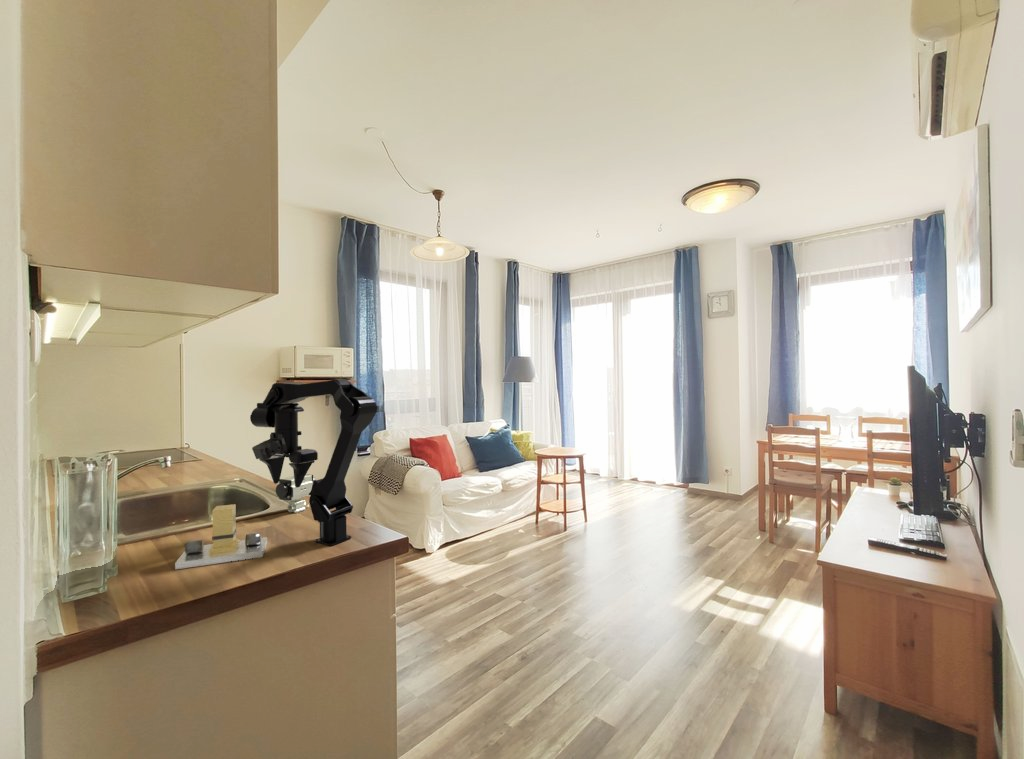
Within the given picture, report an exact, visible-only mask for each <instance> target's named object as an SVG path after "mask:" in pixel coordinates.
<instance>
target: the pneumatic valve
mask: <svg viewBox="0 0 1024 759" xmlns="http://www.w3.org/2000/svg"><path fill="white" fill-rule="evenodd" d="M316 480H317V479H316V478H315V477H314V474H309V473H306V475H305V477H304V479H303V481H302V483H301V485H300V487H295V481H294V475H293V476H287V477H284V478H280V480H279V483H277V485H276V487H275V493H276V494H275V495H276V497H278V499H279V500H283V501H288V503H287V504H288V505H287V506H286V507H287V511H288V512H289V513H295V514H297V513H301V512H304V511H305V510H306V505H307V502H306V499H304V497H307V496H310V495H309V493H310V492H311V489H312V485H313V483H314V481H316ZM303 510H304V511H303Z"/></svg>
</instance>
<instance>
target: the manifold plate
mask: <svg viewBox="0 0 1024 759" xmlns="http://www.w3.org/2000/svg"><path fill="white" fill-rule="evenodd" d="M204 542H205V541H204V539H199V540H198V539H197V540H191V541H189V540H188V541H186V543H185V545H184V546H185V547H184V551H183V553H182V554H181V555H180V556H179V557H178V559H177V560H176V561H175V564H174V568H175V570H182V569H188V568H195V567H203V566H210V565H215V564H216V565H217V564H223V563H231V561H232V562H237V561H238V560H239V561H245V559H246V560H252V558H253V559H259V558H263V557H264V554H265V550H266V548H267V545H268V536H263V537H262V533H261V532H255V533H253V532H252V533H247V534H245V539H242V540H241V539H239V545H238V547H237V549H236V551H233V552H225V553H218V554H211V555H209V549H210V548H211V546H212V545H213V543H210V544H204Z"/></svg>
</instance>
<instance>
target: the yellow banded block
mask: <svg viewBox="0 0 1024 759" xmlns="http://www.w3.org/2000/svg"><path fill="white" fill-rule="evenodd" d="M236 504H237V503H236ZM236 504H235V503H234V504H226V505H216V506H215V507H214V508H213V509H212V537H211V540H212V544H213V545H212V546H211V548H210V549H209V555H211V554H218V553H225V552H233V551H236V549H237V547H238V545H239V541H240V539H239V538H237V534H236V533H237V528H236V527H237V526H236V525H237V524H236V521H237V520H236V517H237V515H236V512H237V510H236Z"/></svg>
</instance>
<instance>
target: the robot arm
mask: <svg viewBox="0 0 1024 759" xmlns="http://www.w3.org/2000/svg"><path fill="white" fill-rule="evenodd" d="M330 395H331V396H332V398H333V401H334V405H335V406H336V408H338V410H340V413H339V420H340V425H341V430H340V433H339V435H338V438H337V441H336V444H335V446H334V450H333V452H332V454H331V458H330V461H329V463H328V467H327V470H326V472H325V475H324V477H323V478H320V479H315V480H316V481H314V483H313V485H312V489H311V492H310V493H309V495H308V496H309V499H308V503H309V505H310V506H309V507H310V511H311V513H312V517H313V520H314V521H316V522H318V523H319V538H315V539H314V542H316V543H319V544H324V545H327V546H335V545H337V544H339V543H342V542H345V541H348V540H350V539H351V538H352V535H350V534H349V535H348V534H347V532H348V531H347V515H348V514H351V513H352V512H353V509H354V504H352V502H351V501H350V500H349V497H348V496H347V495H346V493H347V486H346V483H345V478H346V476H347V473H348V471H349V469H350V466H351V463H352V460H353V458H354V455H355V452H356V449H357V447H358V444H359V441H360V438H361V436H362V433H363V431H365V429H366V428H367V427H368V426H369V425H370V424H371V423H372V421H373V420H374V418H375V416H376V414H377V412H378V406H377V403H376V401H375V399H374V398H373V397H371V396H369V395H368V394H367V393H366V392H365V391H363V390H361V389H359V388H358V387H357V386H355V385H354V384H352V383H351V381H349V380H348V379H346V378H331V380H325V381H324V380H323V381H317V382H315V381H314V382H308V383H303V382H292V381H291V382H274V383H273V384H272V385H271V387H270V389H269V391H268V393H267V395H266V396H265V398H264V400H263V401H262V402H257V403H256V407H255V408H254V409H253V410H252V412H251V413H250V418H249V420H250V422H251V424H252V425H253V426H254V427H257V428H273V429H274V431H273V432H270V434H269V439H267V440H264V441H262V442H259V443H258V444H256V445H254V446H252V448H251V450H252V452H253V454H254V457H255V459H256V460H259V461H260V462H262V463H264V464H265V466H266V465H267V468H268V471H269V473H270V477H271V479H272V481H273V484H275V485H276V484H277V485H278V484H279V480H280V479H281V475H282V471H283V467H284V461H285V459H286V458H288V460H289V463H288V465H289V466H290V467H291V468H292V469H293V476H294V481H295V487H300V485H301V483H302V481H303V479H304V477H305V475H306V474H308V471H309V470H310V468H311V466H312V464H315V461H318V460H319V455H318V454H319V452H318V451H317V450H316V449H312V448H311V449H310V448H303V449H302V445H299V436H301V435H302V431H301V430H299V417H298V413H302V412H304V411H305V409H304V408H303V407H302V406H301V405H300V404H299V403H300V402H302V401H305V400H306V399H309V398H312V397H313V398H315V397H322V396H323V397H324V396H330ZM330 510H331V511H330Z"/></svg>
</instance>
